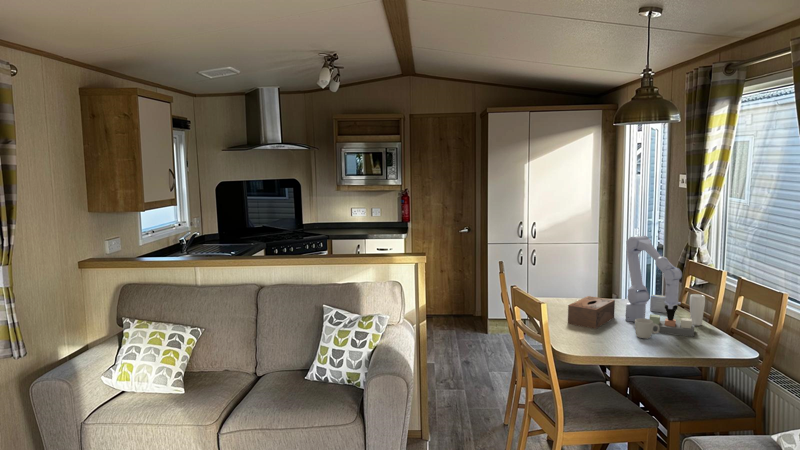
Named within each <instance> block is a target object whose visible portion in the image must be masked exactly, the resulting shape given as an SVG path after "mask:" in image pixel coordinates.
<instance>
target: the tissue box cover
mask: <svg viewBox="0 0 800 450" xmlns="http://www.w3.org/2000/svg"><path fill="white" fill-rule="evenodd" d="M615 302H616V300H615V299H611V298H610V299H609V298H606V297H605V298H604V297H603V298H602V297H597V296H591V295H587V296H584V297H583V298H581V299H579V300H577V301H574V302H572V303H570V304H568V305H567V306H568V307H567V308H568V309H567V325H573V326H578V327H583V328H588V329H593V330H597V329H598V328H600V327H602V326H603V325H605V324H607V323H608V322H609V321H611V320H614V319H615V309H616V308H615V307H616V306H615V305H616V303H615Z"/></svg>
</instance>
